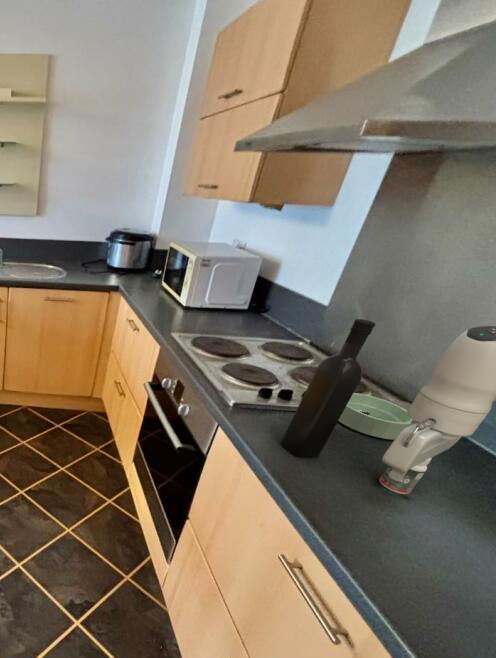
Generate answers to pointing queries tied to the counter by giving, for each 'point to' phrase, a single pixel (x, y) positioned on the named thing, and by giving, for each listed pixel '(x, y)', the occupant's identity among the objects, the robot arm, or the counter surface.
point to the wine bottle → (327, 395)
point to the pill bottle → (408, 481)
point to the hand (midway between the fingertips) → (402, 474)
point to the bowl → (375, 416)
